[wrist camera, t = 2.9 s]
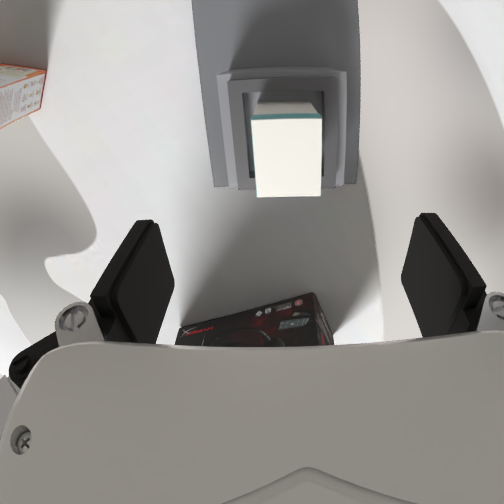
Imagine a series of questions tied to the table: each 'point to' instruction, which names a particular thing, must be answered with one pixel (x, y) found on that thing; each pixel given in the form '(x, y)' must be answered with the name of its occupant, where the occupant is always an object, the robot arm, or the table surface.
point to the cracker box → (19, 92)
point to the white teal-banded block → (287, 149)
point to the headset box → (264, 327)
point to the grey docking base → (278, 78)
